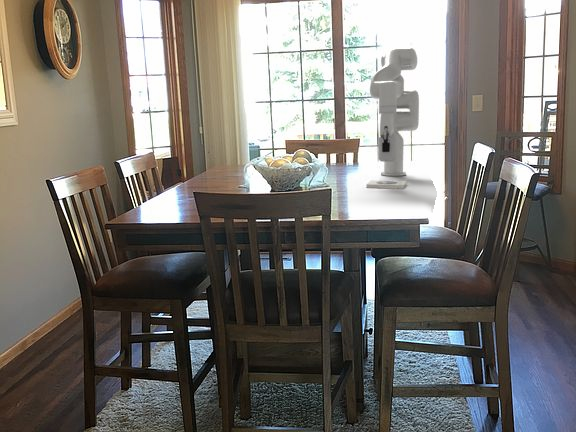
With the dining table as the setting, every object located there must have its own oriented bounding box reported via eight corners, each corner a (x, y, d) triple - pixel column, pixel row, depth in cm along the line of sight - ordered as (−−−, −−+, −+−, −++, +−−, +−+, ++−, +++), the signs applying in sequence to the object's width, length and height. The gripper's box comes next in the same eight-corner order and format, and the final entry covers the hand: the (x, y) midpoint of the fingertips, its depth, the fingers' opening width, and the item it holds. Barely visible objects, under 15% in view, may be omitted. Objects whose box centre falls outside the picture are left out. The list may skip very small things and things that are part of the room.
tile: (371, 183, 280) (371, 180, 280) (406, 184, 276) (406, 181, 275) (366, 187, 268) (366, 184, 268) (403, 188, 263) (403, 184, 263)
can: (396, 161, 266) (397, 133, 264) (379, 161, 266) (379, 134, 264) (394, 160, 273) (394, 133, 271) (377, 160, 273) (377, 133, 271)
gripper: (381, 110, 275) (381, 149, 278) (376, 110, 258) (375, 152, 262) (398, 109, 273) (398, 149, 276) (393, 110, 256) (393, 152, 260)
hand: (387, 150), depth 269 cm, fingers closed on can, 7 cm apart
